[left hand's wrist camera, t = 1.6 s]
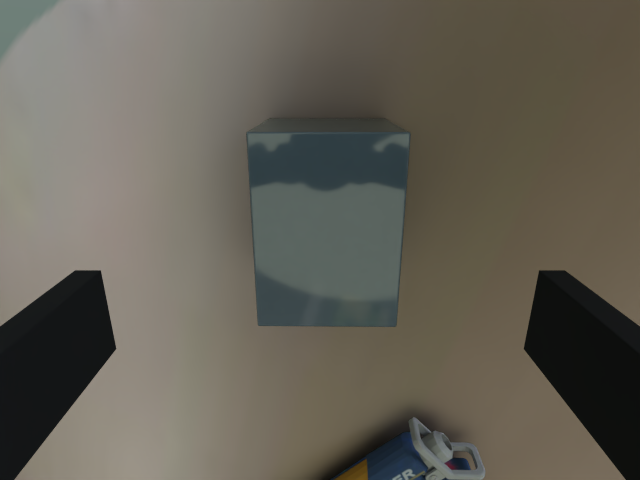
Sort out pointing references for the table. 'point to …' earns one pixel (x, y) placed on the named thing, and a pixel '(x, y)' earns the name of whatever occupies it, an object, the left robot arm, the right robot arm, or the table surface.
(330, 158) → the brick
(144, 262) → the table surface
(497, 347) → the table surface
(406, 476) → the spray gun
